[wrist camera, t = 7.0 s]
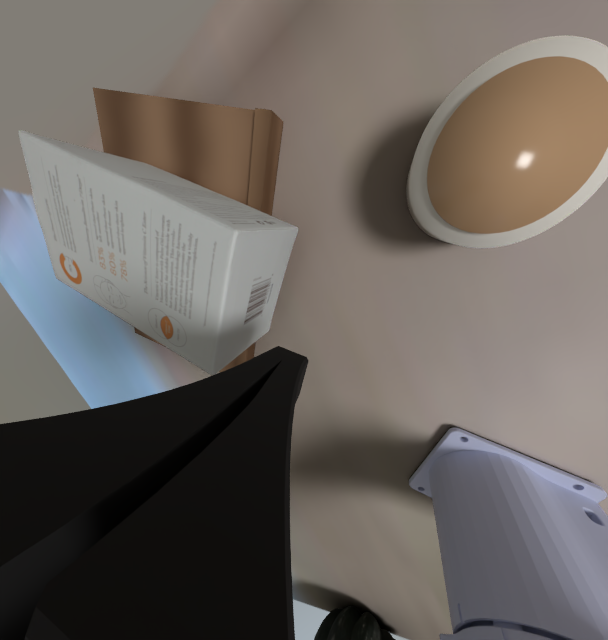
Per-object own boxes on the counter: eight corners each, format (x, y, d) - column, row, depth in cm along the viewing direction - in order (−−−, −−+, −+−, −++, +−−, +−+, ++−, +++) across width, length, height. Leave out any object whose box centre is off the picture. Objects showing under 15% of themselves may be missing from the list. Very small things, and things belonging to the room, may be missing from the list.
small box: (302, 227, 13) (144, 158, 16) (238, 229, 8) (9, 123, 10) (270, 331, 17) (147, 264, 20) (212, 380, 12) (51, 279, 14)
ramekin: (606, 99, 9) (719, 32, 6) (507, 256, 12) (548, 267, 9) (440, 83, 10) (461, 24, 7) (388, 228, 13) (387, 228, 10)
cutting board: (283, 121, 13) (271, 110, 12) (251, 375, 22) (242, 384, 21) (111, 96, 16) (87, 85, 15) (145, 328, 25) (132, 333, 24)
